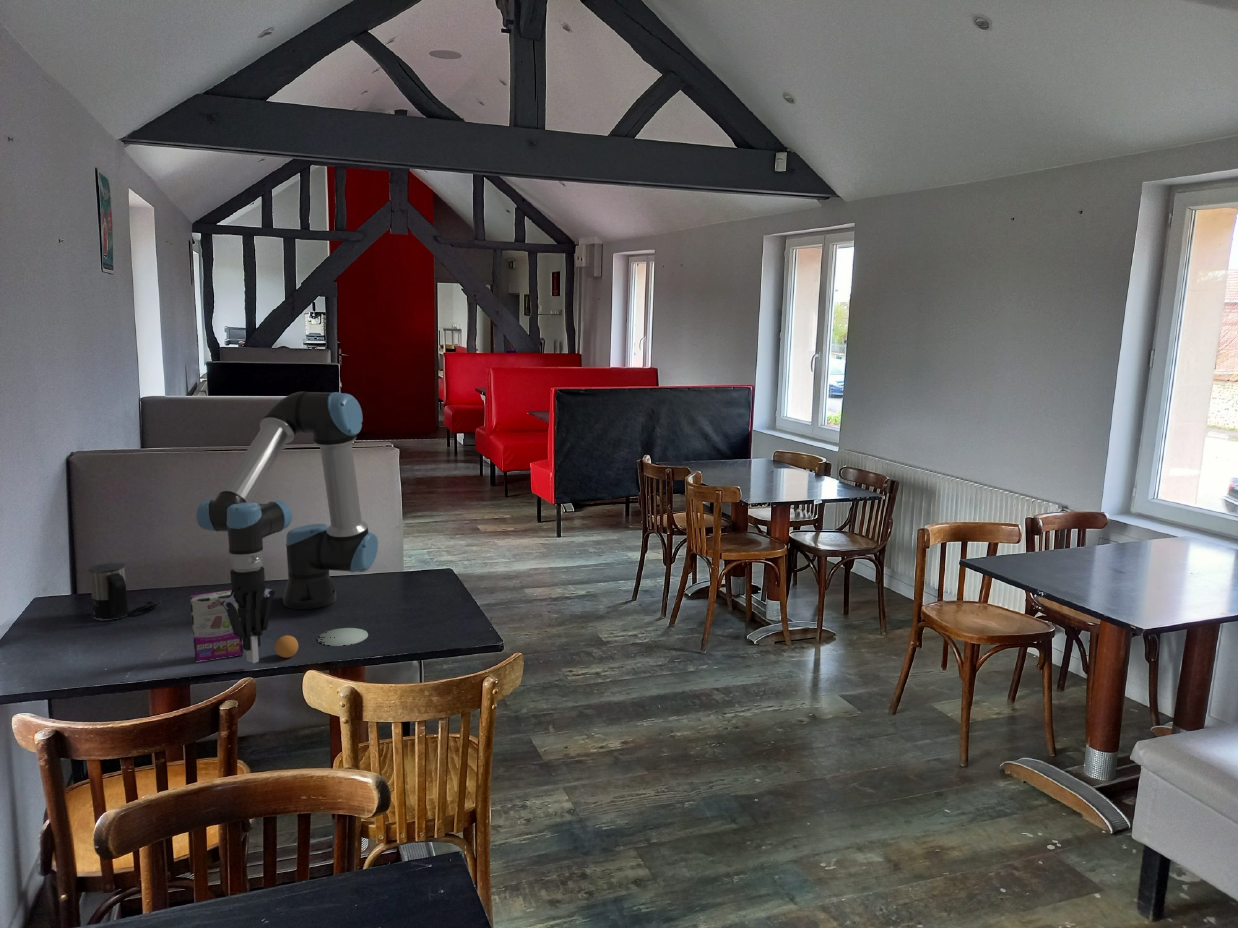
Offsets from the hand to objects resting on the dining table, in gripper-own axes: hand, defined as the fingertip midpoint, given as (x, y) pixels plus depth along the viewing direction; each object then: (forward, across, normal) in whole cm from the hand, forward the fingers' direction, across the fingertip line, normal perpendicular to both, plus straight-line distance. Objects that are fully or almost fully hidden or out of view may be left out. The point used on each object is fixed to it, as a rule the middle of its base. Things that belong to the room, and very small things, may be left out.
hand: (252, 660), depth 212 cm
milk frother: (+2, +2, +64) cm, 64 cm away
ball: (-1, +10, 0) cm, 10 cm away
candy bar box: (+2, 0, +14) cm, 14 cm away
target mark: (+2, +26, 0) cm, 27 cm away
